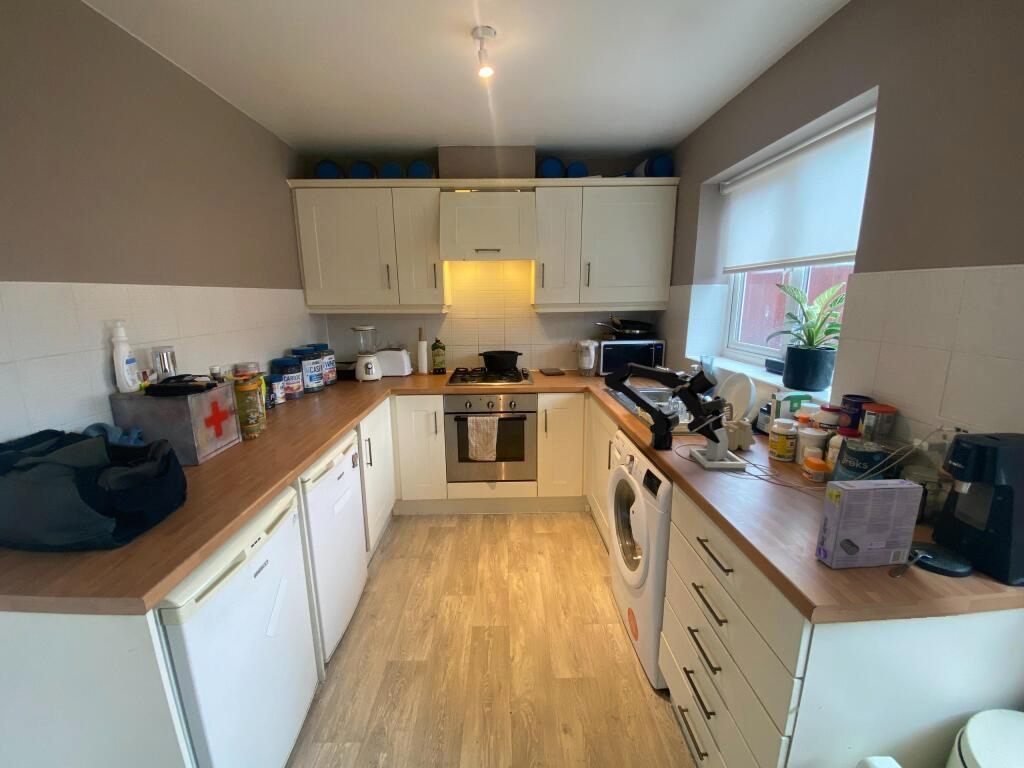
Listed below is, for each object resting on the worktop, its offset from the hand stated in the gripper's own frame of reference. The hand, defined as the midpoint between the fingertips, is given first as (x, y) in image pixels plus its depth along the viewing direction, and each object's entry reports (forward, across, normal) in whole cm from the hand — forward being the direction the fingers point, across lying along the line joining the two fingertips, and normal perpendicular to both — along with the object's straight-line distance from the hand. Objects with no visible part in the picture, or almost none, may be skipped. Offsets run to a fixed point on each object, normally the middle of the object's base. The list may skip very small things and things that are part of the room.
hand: (722, 440), depth 136 cm
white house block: (+4, 0, +6) cm, 7 cm away
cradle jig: (+5, 0, +7) cm, 8 cm away
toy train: (+4, +18, +8) cm, 20 cm away
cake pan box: (+34, -33, -22) cm, 53 cm away
